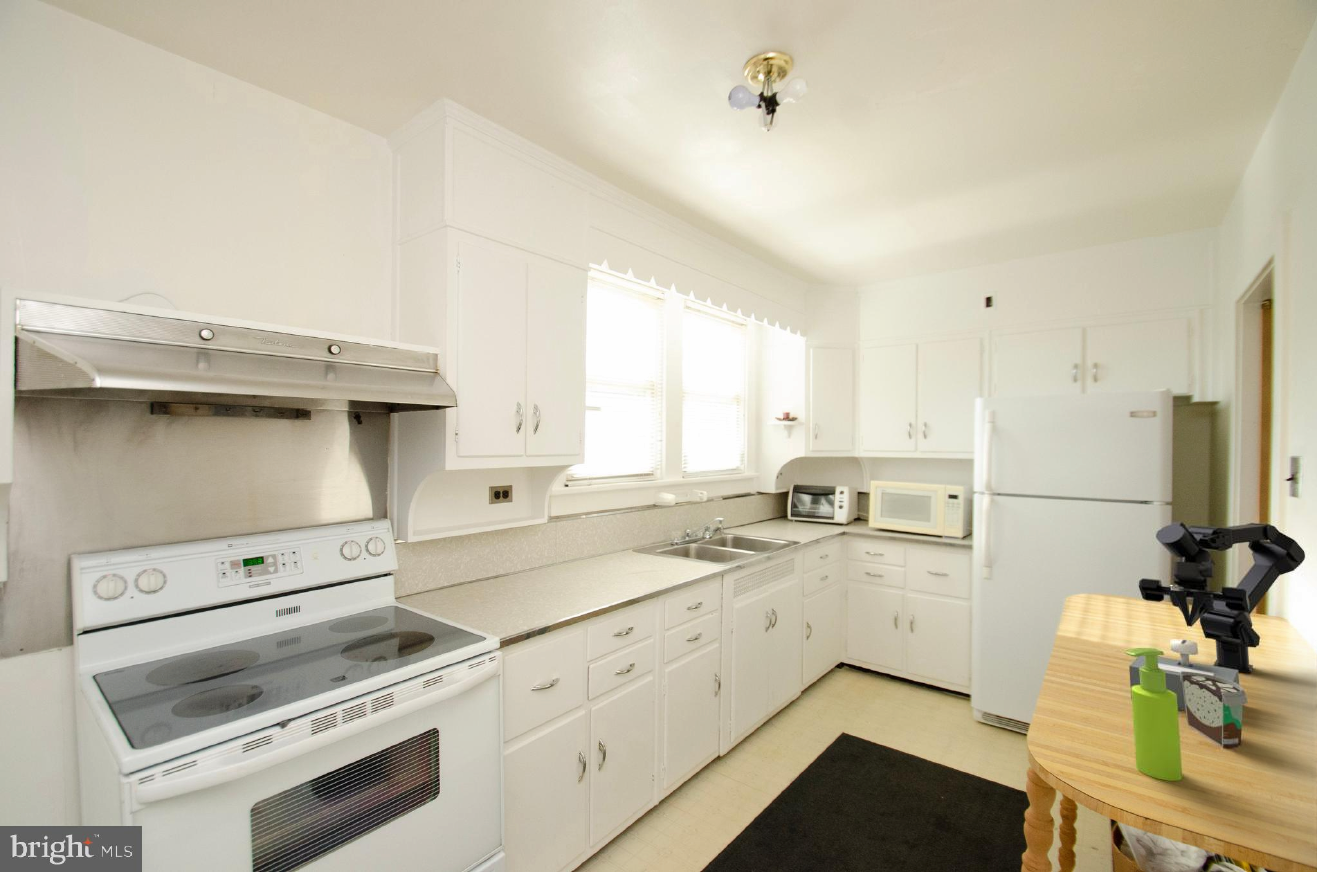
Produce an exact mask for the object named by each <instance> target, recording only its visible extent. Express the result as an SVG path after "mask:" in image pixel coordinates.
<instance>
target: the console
mask: <svg viewBox="0 0 1317 872" xmlns="http://www.w3.org/2000/svg"><path fill="white" fill-rule="evenodd" d="M1189 664H1190V667H1187V666H1182V665H1181V659H1177V658H1171V657H1164V656H1161V655H1158V668H1160V669H1162V670H1164V671H1165V675H1166V689H1167V690H1170V691H1172V692H1174V693H1175V694H1176V695H1177V706H1178V710H1180V711H1184V712H1186V708H1185V700H1184V692H1183V685H1182V681H1180V674H1181V671H1185V672H1195V673H1202V674H1207V675H1212V676H1216V677H1220V678H1224V679H1227V680H1230V681H1232V682H1235V683H1237V684H1239V685H1240V676H1239V674H1240V673H1239V671H1238V670H1235V669H1229V668H1223V667H1217V666H1214V665H1211V664H1204V663H1200V662H1195V661H1189ZM1128 666H1129V683H1130V685H1129V686H1130V688H1131V687H1132V686H1135V685H1140V672H1139V668H1140V667H1143V666H1145V655H1144V656H1139V657H1135V659H1134V660H1133V661H1132V662H1131V663H1130V664H1129V665H1128ZM1130 700H1132V693H1131V692H1130Z"/></svg>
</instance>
